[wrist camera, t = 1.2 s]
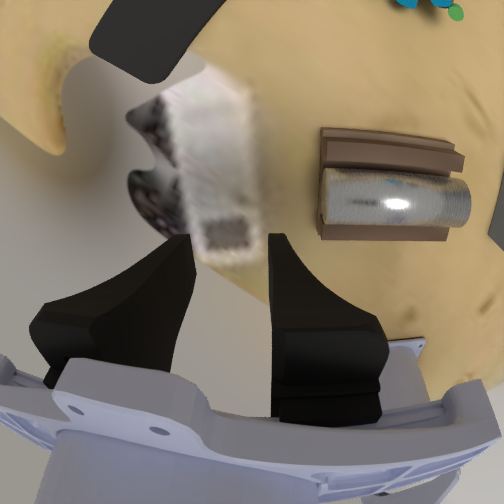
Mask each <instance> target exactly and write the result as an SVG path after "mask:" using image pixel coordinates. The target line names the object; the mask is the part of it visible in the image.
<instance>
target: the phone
mask: <svg viewBox="0 0 504 504" xmlns="http://www.w3.org/2000/svg"><path fill="white" fill-rule="evenodd" d="M225 1H226V0H113V1H112V3H111V4H110V6H109V7H108V9H107V10H106V12H105V13H104V15H103V17H102V18H101V20H100V21H99V23H98V25H97V26H96V28H95V30H94V32H93V33H92V35H91V37H90V40H89V48H90V50H91V52H92V53H93V54H95V55H96V56H98V57H100V58H102V59H104V60H106V61H107V62H109V63H111V64H113V65H115V66H116V67H118V68H120V69H122V70H124V71H125V72H127V73H129V74H131V75H132V76H134V77H136V78H138V79H139V80H141V81H143V82H145V83H148V84H155V83H160V82H162V81H164V80H165V79H166V78H167V77H168V76H169V75H170V73H171V72H172V71H173V69H174V68H175V66H176V65H177V64H178V62H179V61H180V59H181V58H182V56H183V55H184V54H185V52H186V51H187V50H186V49H187V48H188V47H189V45H190V44H191V43H192V41H193V40H194V39H195V37H196V36H197V35H198V34H199V32H200V31H201V30H202V28H203V27H204V26H205V25H206V24H207V22H208V21H209V20H210V19H211V17H212V16H213V15H214V14H215V13H216V12H217V10H218V9H219V8H220V7H221V6H222V5H223V4H224V2H225Z"/></svg>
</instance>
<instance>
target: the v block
mask: <svg viewBox="0 0 504 504" xmlns="http://www.w3.org/2000/svg"><path fill="white" fill-rule="evenodd" d="M488 235H489V236H490V237H491V238H492V239H493V241H494V242H495V243H496V244H497V245H498V246H499V247H500V248H501V249H502V250H503V251H504V173H503V178H502V183H501V187H500V192H499V196H498V200H497V204H496V208H495V211H494V215H493V219H492V222H491V225H490V229H489V232H488Z"/></svg>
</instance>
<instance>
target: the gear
mask: <svg viewBox="0 0 504 504" xmlns="http://www.w3.org/2000/svg"><path fill="white" fill-rule="evenodd" d="M397 2H398V3H400V4H401V5H403V6H406V7H408V8H411V9H414V8H415V7H416V5H417V3H418V0H397ZM431 2H432V3H433V5H435V6H438V7H441V8H448V14H449V16H450V17H451V18H452V19H453V20H455V21H461V20H462V19H463V17H464V14H463V10H462V8H461V7H460V6H459V5H458V4H455V3H453V0H431Z"/></svg>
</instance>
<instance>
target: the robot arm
mask: <svg viewBox="0 0 504 504" xmlns="http://www.w3.org/2000/svg"><path fill="white" fill-rule="evenodd" d="M268 264H269V301H270V312H271V323H272V382H271V417H246V416H240V415H235V414H230V413H226V412H221V411H217V410H212V409H211V408H210V406H209V403H208V400H207V397H206V396H205V395H204V394H203V392H202V391H201V390H200V389H199V388H198V387H197V385H196V384H194V383H192V382H190V381H189V380H187V379H185V378H183V377H181V376H179V375H175V374H172V373H170V369H171V364H172V358H173V353H174V348H175V344H176V340H177V336H178V333H179V330H180V327H181V324H182V321H183V319H184V316H185V313H186V310H187V308H188V305H189V302H190V299H191V296H192V293H193V289H194V284H195V279H196V274H197V273H196V268H195V262H194V256H193V251H192V245H191V239H190V234H176V235H174V236H173V237H171V238H170V239H168V240H167V241H166V242H164V243H163V244H162V245H161V246H159V247H158V248H156V249H155V250H154V251H152V252H151V253H150V254H148V255H147V256H146V257H144V258H143V259H141V260H140V261H138V262H137V263H136V264H134V265H133V266H131V267H130V268H128V269H127V270H125V271H123V272H122V273H120V274H118V275H116V276H115V277H113V278H111V279H109V280H107V281H105V282H103V283H101V284H99V285H97V286H95V287H93V288H91V289H88V290H86V291H83V292H81V293H78V294H75V295H72V296H69V297H66V298H63V299H59V300H56V301H52V302H49V303H45V304H44V305H43V306H42V308H41V310H40V311H39V312H38V314H37V315H36V316H35V318H34V319H33V321H32V322H31V324H30V325H29V333H30V336H31V339H32V341H33V342H34V344H35V346H36V347H37V349H38V350H39V352H40V353H41V354H42V356H43V357H44V358H45V360H46V361H47V363H48V364H49V365H50V366H51V367H50V369H49V371H48V372H47V374H46V376H45V378H44V379H41V378H39V377H36V376H33V375H30V374H27V373H25V372H22V371H20V370H17V369H16V368H15V366H14V365H13V363H12V362H11V361H10V360H9V359H8V358H7V357H6V356H4V355H2V354H0V423H1V424H3V425H4V426H6V427H7V428H9V429H11V430H12V431H14V432H16V433H17V434H19V435H21V436H22V437H24V438H26V439H28V440H29V441H31V442H33V443H35V444H36V445H38V446H40V447H42V448H43V449H46V450H47V451H49V452H51V455H50V458H49V461H48V463H47V466H46V469H45V472H44V475H43V478H42V481H41V484H40V487H39V490H38V494H37V498H36V500H35V504H319V503H327V502H334V501H341V500H346V499H352V498H358V497H361V501H362V504H440V502H441V501H442V500H443V499H444V498H445V496H446V495H447V494H448V493H449V492H450V491H451V489H452V488H453V487H454V486H455V485H456V483H457V482H458V480H459V475H460V474H461V471H460V467H463V466H464V465H466V464H467V463H469V462H470V461H472V460H473V459H475V458H476V457H478V456H479V455H480V454H482V453H483V452H484V451H486V450H487V449H489V448H490V447H491V446H492V445H494V444H495V443H496V442H498V441H499V440H500V439H501V437H502V436H501V432H500V429H499V426H498V423H497V420H496V417H495V414H494V412H493V409H492V406H491V403H490V401H489V398H488V396H487V393H486V390H485V388H484V386H483V383H482V381H481V379H476V380H472V381H468V382H464V383H461V384H457V385H455V386H453V387H451V388H450V389H449V390H448V391H447V392H446V393H445V394H444V396H443V398H442V399H441V400H436V401H432V402H431V401H430V398H429V395H428V392H427V388H426V385H425V382H424V379H423V376H422V373H421V370H420V367H419V364H418V362H417V358H418V356H419V354H420V352H421V351H422V349H423V347H424V345H425V343H426V340H425V338H418V339H409V340H399V341H389V342H388V341H387V338H386V335H385V333H384V331H383V329H382V327H381V325H380V323H379V321H378V319H377V317H376V316H374V315H372V314H370V313H368V312H366V311H364V310H362V309H360V308H357V307H356V306H354V305H352V304H350V303H349V302H347V301H345V300H344V299H342V298H341V297H339V296H338V295H336V294H335V293H333V292H332V291H331V290H329V289H328V288H327V287H326V286H324V285H323V284H322V283H321V282H320V281H319V280H318V279H317V278H316V277H315V276H314V275H313V274H312V273H311V272H310V271H309V270H308V269H307V267H306V266H305V265H304V264H303V262H302V261H301V260H300V258H299V257H298V256H297V254H296V253H295V251H294V250H293V248H292V246H291V245H290V243H289V241H288V239H287V236H286V235H285V234H284V233H269V235H268ZM438 475H440V476H438ZM435 476H438V477H437V478H435V479H433V480H432V481H429V482H426V483H424V484H421V485H418V486H415V487H413V488H410V489H406V490H403V491H400V492H397V493H393V494H388V493H386V492H385V491H389V490H393V489H396V488H400V487H403V486H407V485H410V484H413V483H417V482H420V481H423V480H426V479H429V478H432V477H435Z"/></svg>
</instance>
